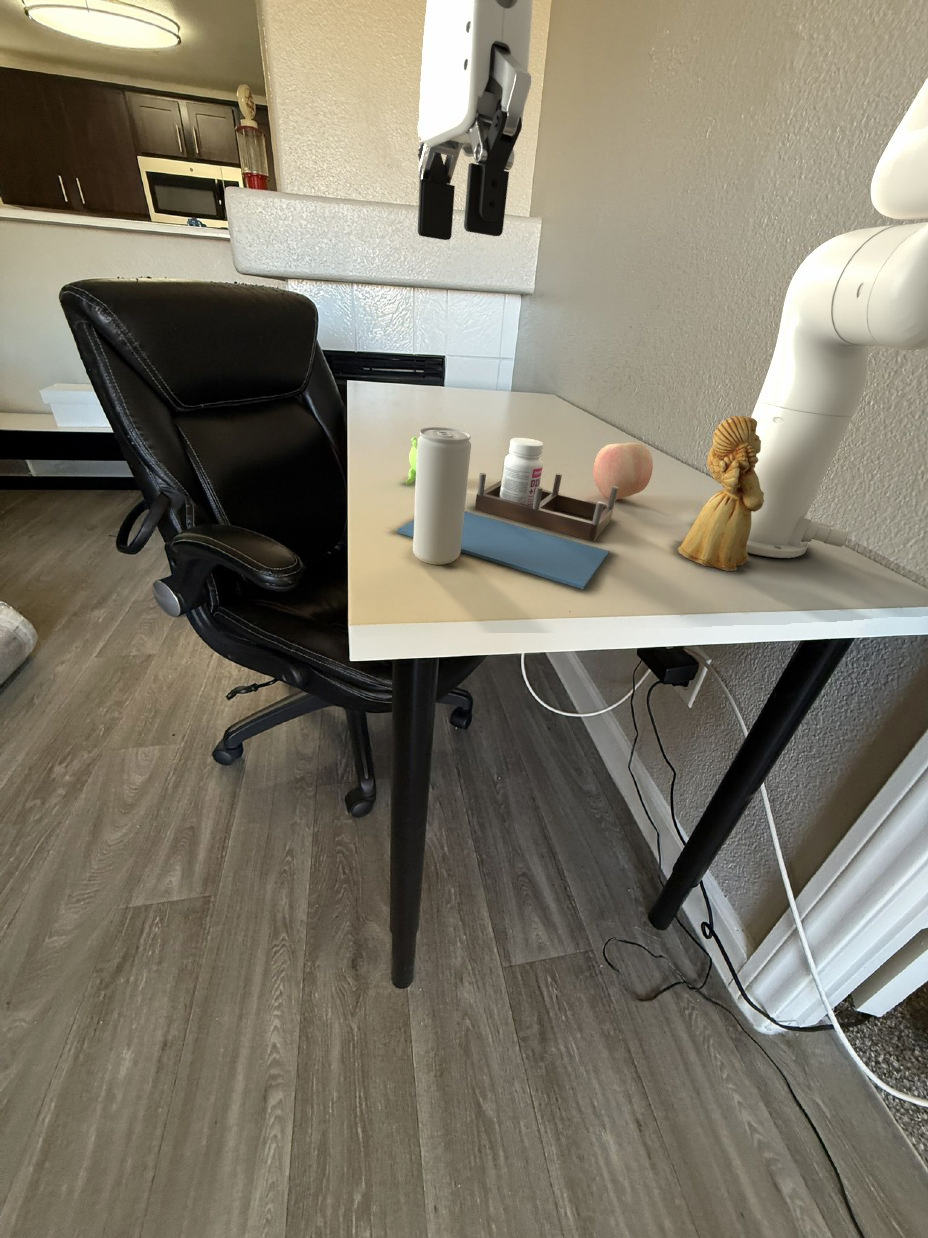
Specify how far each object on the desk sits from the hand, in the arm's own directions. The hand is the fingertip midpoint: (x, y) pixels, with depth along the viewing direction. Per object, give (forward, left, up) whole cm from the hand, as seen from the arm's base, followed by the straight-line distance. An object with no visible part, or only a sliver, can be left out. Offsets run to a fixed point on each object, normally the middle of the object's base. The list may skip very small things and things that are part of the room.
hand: (456, 235), depth 45 cm
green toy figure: (+10, -14, -27) cm, 32 cm away
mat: (-8, -1, -27) cm, 28 cm away
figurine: (-28, -13, -27) cm, 41 cm away
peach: (-14, -26, -27) cm, 41 cm away
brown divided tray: (-8, -12, -27) cm, 31 cm away
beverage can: (-4, +6, -27) cm, 28 cm away
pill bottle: (-5, -12, -27) cm, 30 cm away
